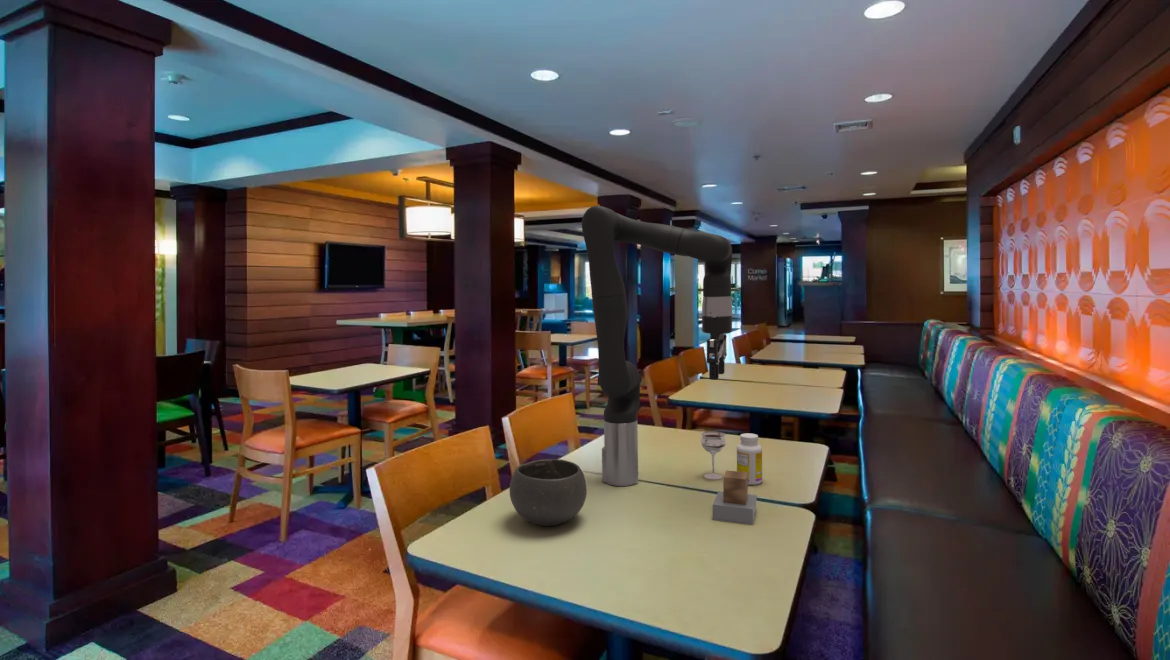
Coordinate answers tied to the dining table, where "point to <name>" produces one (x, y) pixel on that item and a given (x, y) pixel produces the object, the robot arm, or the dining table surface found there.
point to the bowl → (548, 491)
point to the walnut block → (735, 487)
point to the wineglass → (713, 448)
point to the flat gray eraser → (734, 510)
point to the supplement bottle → (750, 458)
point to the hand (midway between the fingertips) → (717, 376)
